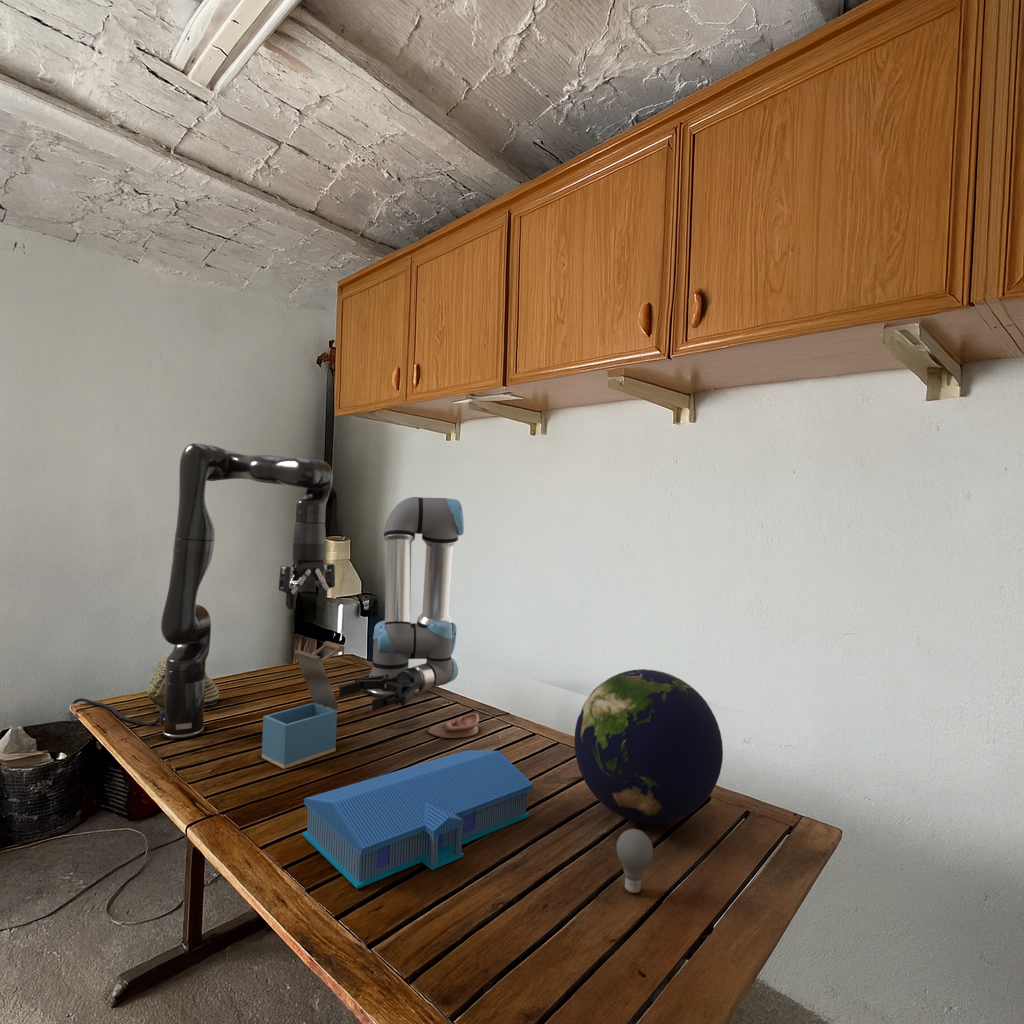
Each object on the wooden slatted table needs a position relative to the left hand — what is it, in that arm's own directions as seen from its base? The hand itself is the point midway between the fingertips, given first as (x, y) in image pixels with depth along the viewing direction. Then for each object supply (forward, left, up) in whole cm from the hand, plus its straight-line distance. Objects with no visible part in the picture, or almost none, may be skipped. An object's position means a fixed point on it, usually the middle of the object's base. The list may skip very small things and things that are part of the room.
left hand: (306, 607), depth 155 cm
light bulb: (+86, +18, -36) cm, 95 cm away
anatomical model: (+11, +39, -36) cm, 54 cm away
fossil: (-52, -12, -36) cm, 64 cm away
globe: (+72, +41, -36) cm, 90 cm away
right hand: (-2, +16, -26) cm, 30 cm away
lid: (-1, +3, -19) cm, 19 cm away
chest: (0, 0, -36) cm, 36 cm away
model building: (+48, +3, -36) cm, 60 cm away
